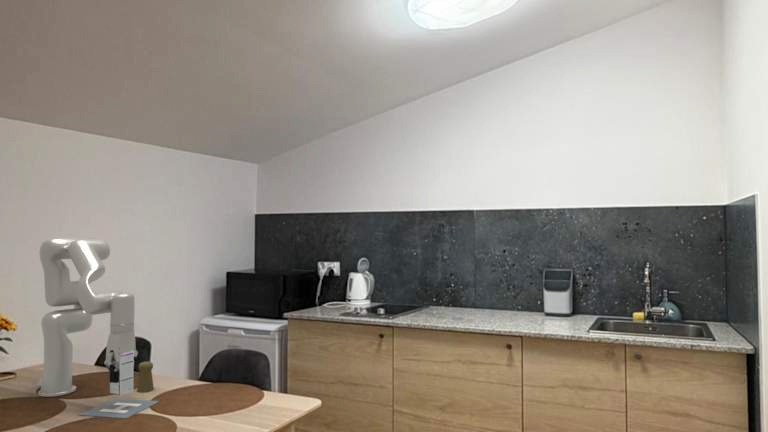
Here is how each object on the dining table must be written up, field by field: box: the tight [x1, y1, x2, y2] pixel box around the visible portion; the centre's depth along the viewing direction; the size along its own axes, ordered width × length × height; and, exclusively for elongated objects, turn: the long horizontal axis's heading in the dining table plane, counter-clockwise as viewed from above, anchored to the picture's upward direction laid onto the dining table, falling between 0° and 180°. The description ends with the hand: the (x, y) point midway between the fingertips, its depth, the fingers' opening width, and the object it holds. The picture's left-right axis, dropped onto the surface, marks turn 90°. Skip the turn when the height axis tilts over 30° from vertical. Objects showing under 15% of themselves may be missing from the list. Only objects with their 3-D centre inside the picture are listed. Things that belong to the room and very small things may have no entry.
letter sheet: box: [78, 397, 160, 420], centre depth 182 cm, size 18×18×1 cm
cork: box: [136, 361, 155, 394], centre depth 203 cm, size 6×6×11 cm
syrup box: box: [108, 351, 135, 396], centre depth 182 cm, size 6×6×14 cm
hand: (121, 379), depth 182 cm, fingers closed on syrup box, 6 cm apart
